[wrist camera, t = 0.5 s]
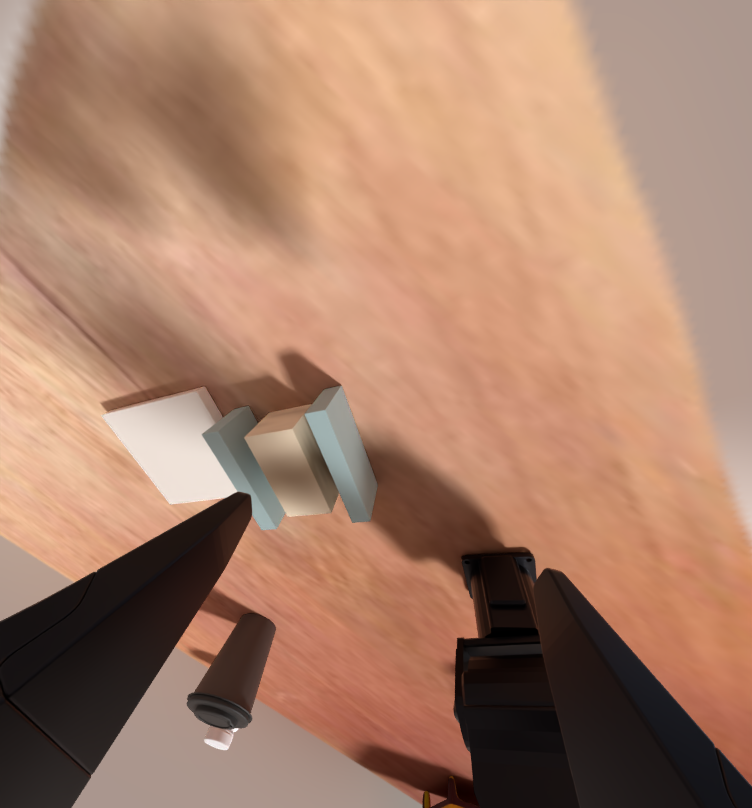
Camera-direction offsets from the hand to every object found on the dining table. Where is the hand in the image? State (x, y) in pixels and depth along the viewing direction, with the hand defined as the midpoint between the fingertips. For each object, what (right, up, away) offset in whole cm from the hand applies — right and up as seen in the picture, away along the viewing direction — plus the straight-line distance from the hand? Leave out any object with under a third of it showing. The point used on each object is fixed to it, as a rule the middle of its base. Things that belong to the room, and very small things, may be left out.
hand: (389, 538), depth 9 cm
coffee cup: (-18, -28, +33) cm, 46 cm away
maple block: (-6, 0, +16) cm, 18 cm away
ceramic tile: (-18, 0, +19) cm, 26 cm away
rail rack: (-6, 0, +16) cm, 17 cm away
